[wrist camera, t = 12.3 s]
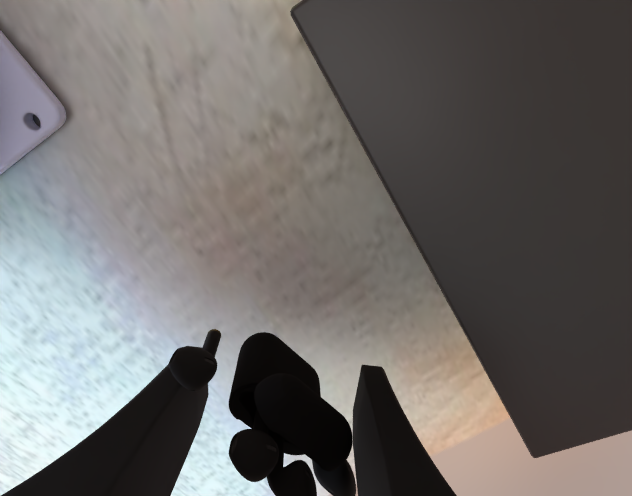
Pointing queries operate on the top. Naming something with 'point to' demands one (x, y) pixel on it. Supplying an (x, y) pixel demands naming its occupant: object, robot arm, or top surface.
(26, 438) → the top surface
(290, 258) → the top surface
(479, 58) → the case lid
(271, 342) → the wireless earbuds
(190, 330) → the top surface
